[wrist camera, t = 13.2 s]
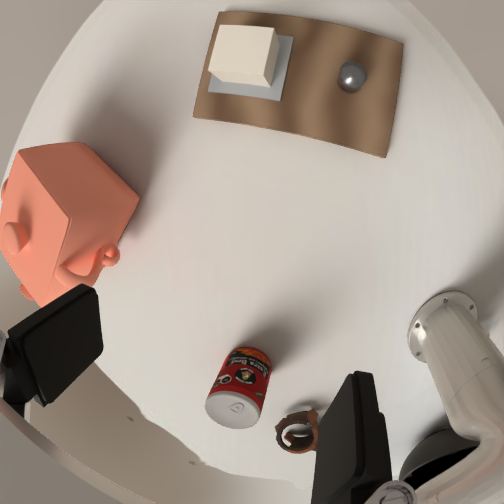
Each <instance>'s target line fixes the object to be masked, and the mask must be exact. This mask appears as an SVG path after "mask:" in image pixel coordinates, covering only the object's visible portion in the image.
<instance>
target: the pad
mask: <svg viewBox="0 0 504 504" xmlns="http://www.w3.org/2000/svg"><path fill="white" fill-rule="evenodd" d="M277 38H278V41H279V44H280V46H279V51H278V55H277V60H276V64H275V69H274V73H273V78H272V83H271V87H265V86H258V85H251V84H242V83H233V82H222V81H221V80H220V79H218V78H217V77H216V76H215V75H213V74H212V75H211V79H210V84H209V88H208V92H215V93H225V94H234V95H242V96H250V97H257V98H263V99H270V100H275V101H280V100H281V96H282V91H283V86H284V82H285V77H286V72H287V67H288V63H289V58H290V53H291V49H292V44H293V39H294V37H291V36H284V35H277Z"/></svg>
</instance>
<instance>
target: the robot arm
mask: <svg viewBox="0 0 504 504" xmlns="http://www.w3.org/2000/svg"><path fill="white" fill-rule="evenodd" d="M8 335H9V338H8V339H6V336H5V334H4V333H3V332H2V331H1V330H0V504H157V503H154V502H152V501H150V500H148V499H145V498H143V497H141V496H139V495H137V494H135V493H133V492H131V491H129V490H127V489H125V488H123V487H121V486H119V485H117V484H115V483H114V482H112V481H110V480H108V479H106V478H105V477H103V476H101V475H100V474H98V473H96V472H95V471H93V470H91V469H90V468H88V467H87V466H85V465H84V464H82V463H81V462H79V461H78V460H76V459H75V458H73V457H72V456H70V455H69V454H67V453H66V452H65V451H63V450H62V449H60V448H59V447H58V446H56V445H55V444H54V443H52V442H51V441H50V440H49V439H47V438H46V437H45V436H43V435H42V434H41V433H40V432H39V431H37V430H36V429H35V428H34V427H33V426H31V425H30V401H31V399H32V398H33V397H34V399H35V401H36V402H38V403H39V404H40V405H41V406H43V407H45V406H46V405H47V404H48V403H52V402H54V400H55V399H56V398H57V397H58V396H59V395H60V394H61V393H62V392H63V391H64V390H65V389H66V388H67V387H68V386H69V385H70V384H71V383H72V382H73V381H74V380H75V379H76V378H77V377H78V376H79V375H80V374H81V373H82V372H83V371H84V370H85V369H86V368H87V367H88V366H89V365H90V364H92V363H93V362H94V361H95V360H96V359H97V358H98V357H99V356H100V355H101V353H102V351H103V339H102V331H101V322H100V312H99V301H98V295H97V294H96V290H95V289H94V288H92V287H90V286H88V285H86V284H84V283H81V284H79V285H77V286H76V287H74V288H72V289H71V290H69V291H67V292H66V293H64V294H63V295H61V296H59V297H58V298H56V299H55V300H53V301H52V302H50V303H48V304H47V305H45V306H44V307H42V308H41V309H39V310H38V311H36V312H35V313H33V314H31V315H30V316H28V317H27V318H26V319H24V320H22V321H21V322H20V323H18V324H17V325H15V326H14V327H12V328H11V329H9V330H8ZM408 345H409V348H410V350H411V353H412V354H413V356H414V357H415V358H416V359H418V360H419V361H421V362H424V363H427V365H428V367H429V370H430V372H431V374H432V377H433V379H434V382H435V384H436V387H437V389H438V392H439V395H440V397H441V400H442V403H443V405H444V408H445V411H446V414H447V416H448V419H449V422H450V424H451V427H452V428H453V430H454V431H455V432H456V433H457V434H458V435H459V436H461V437H463V438H466V439H469V440H473V441H479V442H480V445H479V446H478V447H477V448H476V449H475V450H474V451H473V452H471V453H470V454H469V455H468V456H467V457H466V458H464V459H463V460H461V461H460V462H458V463H457V464H455V465H454V466H452V467H451V468H449V469H448V470H446V471H444V472H443V473H441V474H440V475H438V476H436V477H435V478H433V479H431V480H430V481H428V482H426V483H425V484H423V485H422V486H420V487H419V488H418V489H417V490H416V491H414V489H413V488H412V487H411V486H410V485H409V484H407V483H405V482H403V481H398V480H394V481H392V470H391V460H390V452H389V444H388V436H387V429H386V423H385V417H384V415H383V413H381V412H379V408H378V401H377V395H376V390H375V384H374V378H373V375H372V373H367V372H362V371H355V372H354V373H353V374H348V376H347V377H346V379H345V381H344V383H343V385H342V386H341V388H340V390H339V392H338V393H337V395H336V397H335V398H334V400H333V402H332V403H331V405H330V407H329V408H328V410H327V412H326V413H325V415H324V416H323V418H322V420H321V421H320V424H319V428H318V440H317V452H316V463H315V473H314V482H313V490H312V499H311V504H504V356H503V355H502V354H501V352H500V351H499V349H498V348H497V347H496V345H495V344H494V343H493V341H492V340H491V339H490V335H489V333H486V332H485V331H484V330H483V328H482V327H481V326H480V324H479V323H478V311H477V307H476V305H475V303H474V302H473V300H472V299H471V298H470V297H469V296H468V295H466V294H464V293H462V292H458V291H450V292H445V293H442V294H440V295H437V296H436V297H434V298H432V299H431V300H429V301H428V302H427V303H426V304H425V305H424V306H423V307H422V308H421V309H420V310H419V311H418V312H417V314H416V315H415V317H414V318H413V320H412V322H411V325H410V328H409V331H408Z"/></svg>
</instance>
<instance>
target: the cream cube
mask: <svg viewBox="0 0 504 504" xmlns="http://www.w3.org/2000/svg"><path fill="white" fill-rule="evenodd" d="M279 46H280V44H279V41H278V38H277V35H276V32H275V29H274V28H269V27H258V26H243V25H220V26H219V30H218V33H217V37H216V41H215V44H214V48H213V52H212V56H211V60H210V64H209V68H208V71H210V72H211V73H212V74H213V75H215V76H216V77H217V78H218V79H220V80H221V81H222V82H233V83H242V84H251V85H258V86H265V87H271V83H272V78H273V73H274V69H275V64H276V60H277V55H278V51H279Z"/></svg>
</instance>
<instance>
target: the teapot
mask: <svg viewBox="0 0 504 504" xmlns="http://www.w3.org/2000/svg"><path fill="white" fill-rule="evenodd" d="M1 199H2V202H3V203H2V208H1V213H0V250H1V251H2V253H3V255H4V256H5V258H6V260H7V261H8V263H9V264H10V266H11V268H12V269H13V270H14V272H15V274H16V275H17V276H18V278H19V279H20V280H21V282H22V284H21V286H20V287H19V289H20V291H21V293H22V294H23V295H24V296H25V297H26V298H28V299H29V300H31V301H33V300H34V299H35V301H36V302H37V303H38V304H39V306H40V307H41V308H42V307H44V306H45V305H47V304H48V303H50V302H52V301H53V300H55V299H56V298H58V297H59V296H61V295H63V294H64V293H66V292H67V291H69V290H71V289H72V288H74V287H76V286H77V285H79V284H81V283H84V284H86V285H88V286H90V287H92V286H93V285H94V284H95V282H96V281H97V279H98V277H99V274H100V272H101V271H102V269H103V267H104V265H106V266H113V265H115V264H116V263H117V262H118V261H119V258H120V252H119V249H118V248H117V246H116V244H117V243H118V241H119V239H120V237H121V235H122V233H123V231H124V229H125V227H126V226H127V224H128V222H129V220H130V218H131V216H132V214H133V212H134V210H135V209H136V207H137V204H138V202H139V200H140V197H139V196H138V195H137V194H136V193H135V192H134V191H133V190H132V189H131V188H130V187H129V186H128V185H127V184H126V183H125V182H124V181H123V180H122V179H121V178H120V177H119V176H118V175H117V174H116V173H115V172H114V171H113V170H112V169H111V168H110V167H109V166H108V165H107V164H106V163H105V162H104V161H103V160H102V159H101V158H100V157H99V156H98V155H97V154H96V153H95V152H94V151H93V150H92V149H90V148H89V147H88V146H87V145H86V144H84V143H77V142H68V143H55V144H47V145H41V146H35V147H30V148H25V149H21V150H19V151H18V152H17V154H16V156H15V159H14V162H13V165H12V168H11V171H10V174H9V178H7V179H6V181H5V182H4V184H3V187H2V190H1Z"/></svg>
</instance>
